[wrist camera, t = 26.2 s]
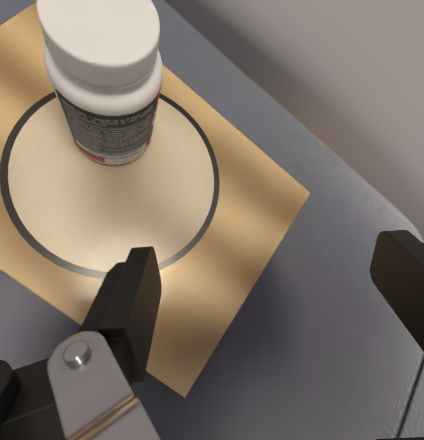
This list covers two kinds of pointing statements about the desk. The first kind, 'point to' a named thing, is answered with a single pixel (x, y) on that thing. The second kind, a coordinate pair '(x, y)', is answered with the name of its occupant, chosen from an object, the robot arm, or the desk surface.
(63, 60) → the pill bottle
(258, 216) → the tan flat wooden board
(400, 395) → the desk surface
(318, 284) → the desk surface
